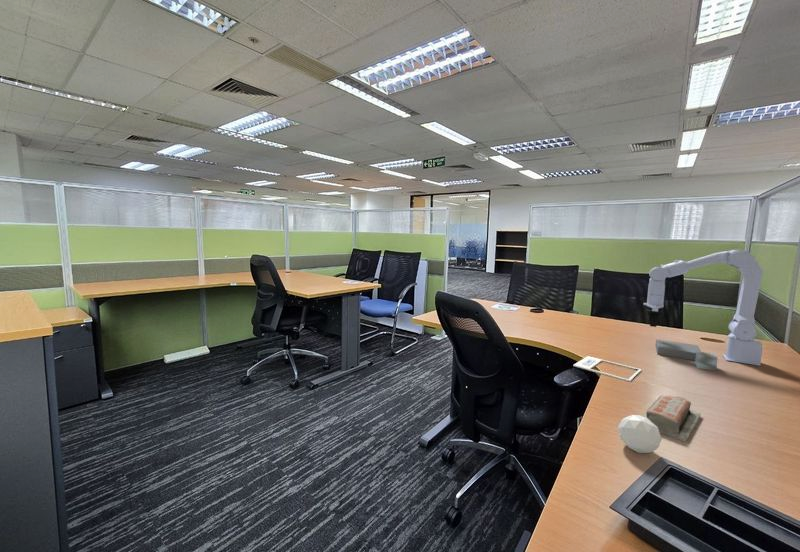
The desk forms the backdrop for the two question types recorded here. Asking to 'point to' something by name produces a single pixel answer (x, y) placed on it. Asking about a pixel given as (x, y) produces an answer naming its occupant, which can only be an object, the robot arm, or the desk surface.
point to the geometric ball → (639, 434)
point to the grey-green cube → (706, 361)
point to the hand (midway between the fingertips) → (652, 324)
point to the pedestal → (677, 349)
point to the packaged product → (673, 416)
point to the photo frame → (591, 362)
